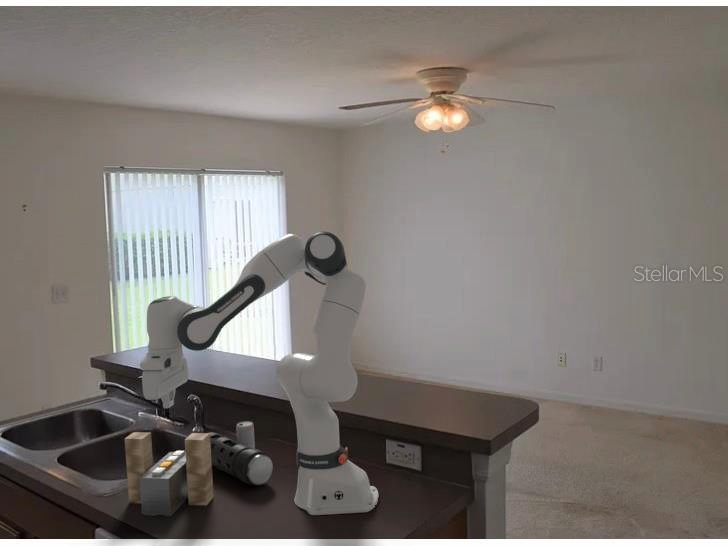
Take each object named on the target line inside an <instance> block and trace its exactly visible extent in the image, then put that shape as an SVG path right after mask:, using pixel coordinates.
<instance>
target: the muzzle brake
mask: <svg viewBox="0 0 728 546" xmlns="http://www.w3.org/2000/svg"><path fill="white" fill-rule="evenodd" d="M209 433H210V445H211V462H212V467H215V468H217V469H219V470H221V471H223V472H226V474H227V473H228V474H229V475H231V476H234V477H235V478H237V479H239V480H240V481H241V482H243V483H245V484H247V485H250V486H256V485H257V486H261V485H263V484H265V483H266V482H267V481H269V479H270V478H271V476H272V473H273V469H274V468H273V466H274V465H273V461H272V459H271V458H270V456H269V455H268V453H266V452H265V451H262V450H260V449H258V448H255V449H254V448H250V447H248V446H246V445H243V444H241V443H238V442H237V440H233V439H231V438H229V437H226V436H224V435H223V434H219V433H218V432H213V431H211V432H209ZM215 438H217V439H215Z"/></svg>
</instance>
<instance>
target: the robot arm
mask: <svg viewBox="0 0 728 546" xmlns="http://www.w3.org/2000/svg"><path fill="white" fill-rule="evenodd" d="M302 272H304V274H305V276H307V277H309V278H311V279H312V280H313V281H315V282H317V283H319V284H321V285H322V286H325V289H324V294H323V296H322V298H321V301H320V304H319V307H318V309H317V312H316V313H315V314H316V315H315V317H314V320H313V323H312V325H311V332H312V334H313V336H314V337H315V338H316V344H317V345H316V352H315V355H314V354H309V353H304V352H299V353H290V354H287V355H284V356H283V357H282V358H281V359H280V360H279V362H278V364H277V367H276V373H275V374H276V379H277V380H276V381H277V383H278V384H279V386H281V388H282V389H283V390H284V391H285V393H286V397H288V399H289V403H290V405H291V408H292V411H293V414H294V417H295V418H294V419H295V424H296V433H297V437H296V438H297V449H296V455H295V456H296V466H297V467H296V468H297V471H298V473H297V485H296V492H295V496H294V504H295V505H296V506H297V507H298V508H300V509H303V510H305V511H306V512H307V513H308V514H309V515H310V516H322V515H340V514H357V513H360V514H361V513H368V512H370V511H372V510H374V508H375V507H376V506H377V504H378V502H379V499H378V498H380V497H379V491H378V489H377V487H376V486H374V485H370V479H369V477H368V474H367V472H366V470H363V469H362V468H360V467H359V466H358V465H356V464H355V463H354V462H352V461H350V460H349V458H348V446H346V447H343V446H342V445H341V444H340V430H339V429H340V425H339V418H338V416H337V414H336V413H335V412H334V410H333V409H332V408H331V406H330V405H329V403H338V402H339V403H341V402H347V401H348V400H349V399H351V398H352V397H353V395H354V394H355V392H356V389H357V387H358V374H357V371H356V369H355V368H354V366H353V364H352V358H351V345H352V339H353V336H354V333H355V329H356V326H357V324H358V323H357V322H358V320H359V317H360V315H361V314H360V313H361V311H362V307H363V303H364V300H365V293H366V285H367V284H366V281H365V279H364V277H363V276H362V275H361V274H360V273H358V272H357V271H353V270H351V269H349V268H348V264H347V253H346V251H345V248H344V245H343V243H342V241H341V239H340V238H339V237H337V236H336V235H335V234H334V233H333V232H330V231H329V232H328V231H318V232H316V233H314V234H312V235H311V236H310V237H309V238H308V240H307V241H305V240H304V239H303V238H302V237H300V236H299V235H297V234H293V233H290V234H289V233H288V234H286V235H284V236H281V237H280V238H278V239H276V240H275V241H273V242H271V243H269V245H267V246H266V247H264V248H262V249H261V250H260V251H259V252H257V253H256V254H255V255H254V256H252V258H251V259H250V260H249V261H248V262H247V263H246V264H245V265H244V267H243V269H242V271H241V273H240V274H239V275H240V276H239V278H238V279H237V281H236V282H235V284H234V285H233V286H232V287H231V288H230V289H229V290H228V291H227V292H225V293H224V294H223V295H222V296H220V297H219V298H218V299H217V300H215V302H213V303H212V304H210V305H209V306H208V307H203V306H200V305H194V304H191V303H188V302H186V301H184V300H181V299H180V298H179V297H177V296H174V295H169V296H163V297H159V298H156V299H154V300H151V302H150V303H149V304H148V306H147V310H146V333H147V335H148V343H147V344H148V345H147V351H148V352H146V355H145V356H144V357H143V359H142V360H141V361H140V364H139V366H140V367H139V368H140V370H141V371H143V372H142V373H141V384H142V394H143V397H144V398H145V399H146V400H148V401H153V400H155V401H156V400H159V399H161V401H162V407H163V409H169V408H171V407H172V406H174V404H175V395H176V392H177V391H176V389H177V388H178V387H180V386H182V385H183V384H186V382H188V380H189V369H188V361H187V358H186V357H185V356H184V352H183V351H184V350H183V347H185V348H186V349H187V350H190V351H195V352H198V351H199V352H200V351H203V350H207V349H208V348H210V347H211V346H212V345H213V344H214V343H215V342H216V340H217V338H218V337H219V335H220V333H221V331H222V330H223V328H224V327H225V326H226V325H228V323H230V321H232V320H233V319H235V317H237V316H238V315H239V314H240V313H241V312H242V311H244V309H246V308H247V307H249V306H250V305H251V304H252V303H254V302H256V301H258V300H259V299H261V298H263V297H264V296H266V295H268V294H270V293H271V292H273V291H275V290H277V289H278V288H279V287H281V286H283V284H285V283H286V282H287V281H288V280H289V279H291V278H292V277H293V276H295V275H296V274H298V273H302ZM375 505H376V506H375Z"/></svg>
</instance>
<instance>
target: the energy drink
mask: <svg viewBox="0 0 728 546" xmlns="http://www.w3.org/2000/svg"><path fill="white" fill-rule="evenodd" d="M254 427H255V425H254V422H253V421H247V420H246V421H245V420H244V421H240V422H238V423H237V424H236V426H235V428H236V430H235V431H236V442H238V443H241V444H243V445H246V446H248V447H250V448H254V449H256V444H255V443H256V442H255V441H256V440H255V428H254Z"/></svg>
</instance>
